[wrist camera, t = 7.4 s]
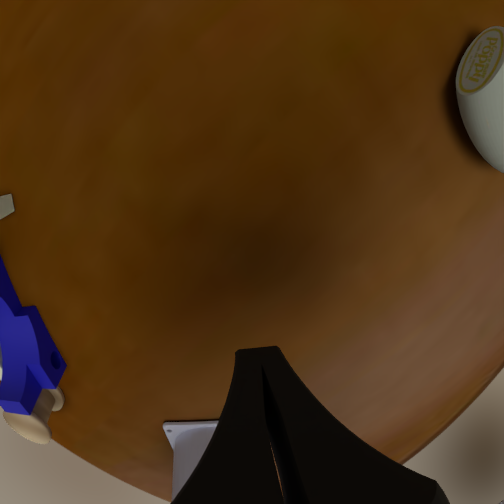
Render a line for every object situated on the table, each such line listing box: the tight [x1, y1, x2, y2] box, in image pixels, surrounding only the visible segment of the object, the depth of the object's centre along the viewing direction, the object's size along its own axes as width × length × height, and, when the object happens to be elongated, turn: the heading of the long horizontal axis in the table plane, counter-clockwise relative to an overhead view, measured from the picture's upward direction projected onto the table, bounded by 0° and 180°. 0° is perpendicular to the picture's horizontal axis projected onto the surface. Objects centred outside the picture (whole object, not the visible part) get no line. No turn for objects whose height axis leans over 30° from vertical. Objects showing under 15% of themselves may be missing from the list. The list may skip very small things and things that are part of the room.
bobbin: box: [3, 386, 65, 444], centre depth 20 cm, size 5×5×5 cm
